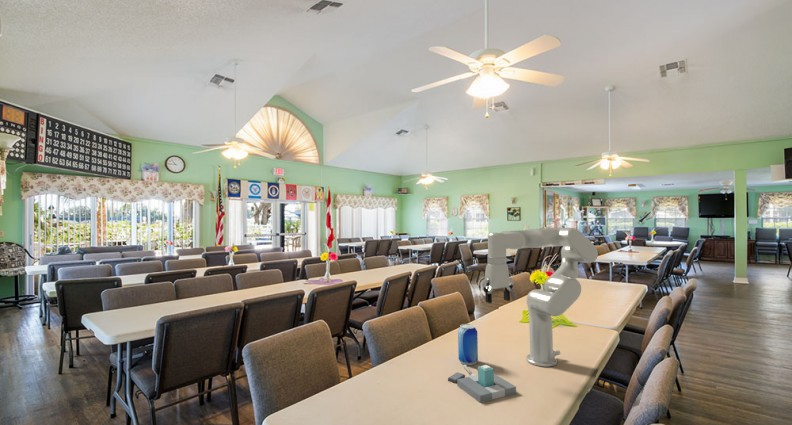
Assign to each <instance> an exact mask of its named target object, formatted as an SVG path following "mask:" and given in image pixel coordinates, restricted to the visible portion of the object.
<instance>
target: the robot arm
mask: <svg viewBox="0 0 792 425" xmlns="http://www.w3.org/2000/svg"><path fill="white" fill-rule="evenodd" d="M550 247H562V248H561V250H560V252H561V253H560V255H561V264H560V266H559V267H558V268H557V269H556V270H555V271H554V272H553V273H552V274H551V275H550V276H549V277H548V278H547V279H546V280H545V281H544V285H543V287H544V289H537V288H535V289H532V290H530V291H529V292H528V293H527V296H526V305H527V311H528V317H529V318H528V319H529V320H528V321H529V323H528V325H529V354H527V355H526V357H525V358H526V361H527V363H529V364H532V365H535V366H536V367H537V366H538V367H545V368H546V367H547V368H548V367H549V368H550V367H555V366H556V365H557V364H558V360H557V359H556V358H555V357H556V356H559V355H561V351H560V350H554V342H553V340H554V338H553V335H554V334H553V319H552V317H559V316H562V315H563V314H564V313H565V312H567V310H568V309H569V308H571V307H572V305H573V304H574V303H575V302H576V301H578V299H579V298H580V296H581V293H582V284H581V282H580V281H579V280H578V276H579V274H580V273H579V272H580V271H579V265H578V263H585V264H591V263H594V262H596V261H597V259H598V256H599V251H598V249H597V247H596V246H595V245H594V243H593V242H591V240H589V239H588V237H587V236H586V235H584V233H583V232H581V231H580V230H579V229H577V228H575V227H547V228H546V227H545V228H532V229H524V230H523V229H521V230H506V231H500V232H489V233H488V235H487V263H488V264H486V266H485V271H484V280H483V281H481V282H480V283H479V284H480V287H481V290H482V291H483V293H485V294H484V295H485V302H486V303H488V304H492V301H493V299H492V298H493V297H492V295H493V294H492V291H493V290H496V289H504V290H503V300H504V301H508V302H510V301H511V293H510V292H512V289H513V287H514V284H515V279H513V278H510V274H509V267H508V263H507V262H508V260H509V259H508V257H507V250H508V249H509V250H520V249H522V248H530V249H531V248H534V249H537V248H538V249H539V248H550Z"/></svg>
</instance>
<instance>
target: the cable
mask: <svg viewBox="0 0 792 425" xmlns="http://www.w3.org/2000/svg"><path fill="white" fill-rule="evenodd" d="M462 368H463V369H465V370H466V371H467V373H468V374H469V375H470V376H475V375H476V374H474V373H472V371H471V370H470V369H469V368H468V365H464V364H462Z"/></svg>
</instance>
